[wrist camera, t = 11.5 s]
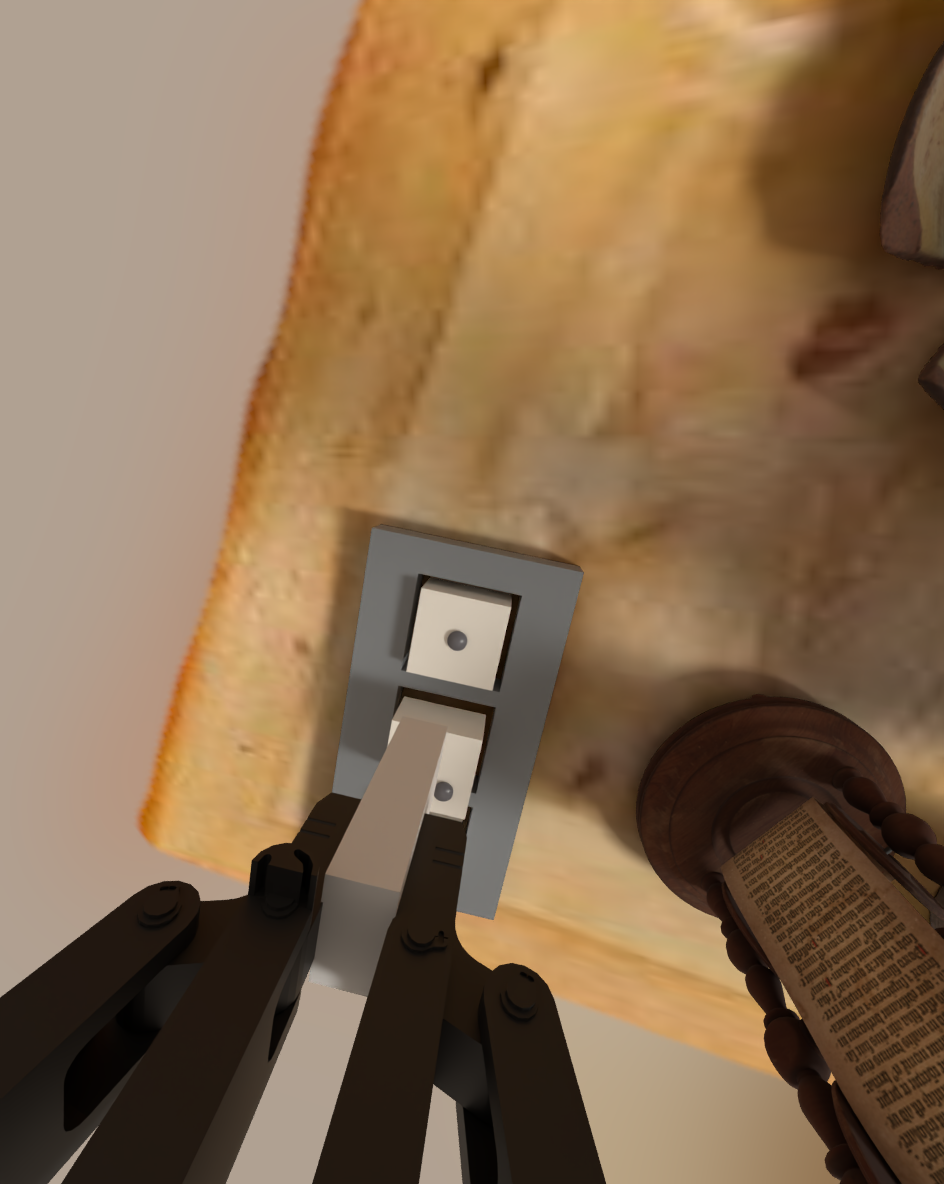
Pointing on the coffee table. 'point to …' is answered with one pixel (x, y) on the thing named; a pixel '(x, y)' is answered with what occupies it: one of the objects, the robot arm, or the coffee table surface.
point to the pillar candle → (936, 922)
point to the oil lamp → (919, 194)
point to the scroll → (816, 916)
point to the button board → (514, 696)
